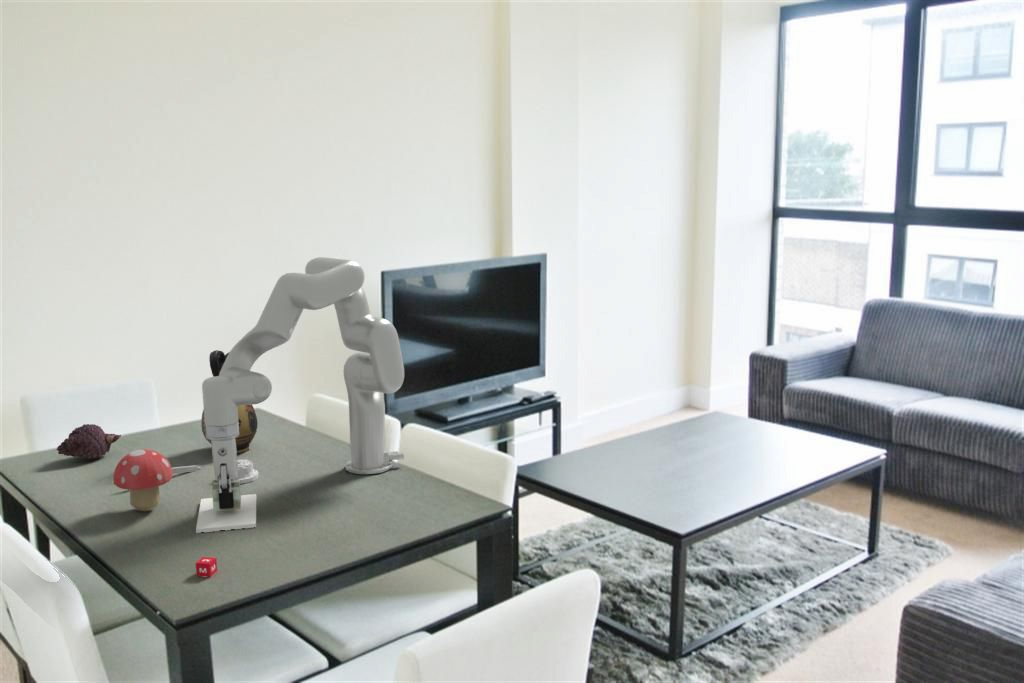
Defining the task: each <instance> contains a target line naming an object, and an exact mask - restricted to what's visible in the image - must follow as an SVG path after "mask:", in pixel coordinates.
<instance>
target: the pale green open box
mask: <svg viewBox="0 0 1024 683" xmlns="http://www.w3.org/2000/svg"><path fill="white" fill-rule="evenodd" d="M227 484H229V482H227ZM231 487H232V491H233V499H234V508H229V509H220V507H219V481H216V482H213V484H212V489H211V493H212V494H211V495H212V497H211V498H213V510H214V511H224V510H234V509H240V507H241V495H242V494H241V484H240V480H237V481H231Z"/></svg>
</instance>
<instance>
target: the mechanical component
mask: <svg viewBox="0 0 1024 683" xmlns="http://www.w3.org/2000/svg"><path fill="white" fill-rule="evenodd" d="M237 464H238V476H237V479H236V480H234V479H233V481H237V480H240V485H242V484H243V483H244V484H249V483H251V481H252V482H254V481H256V480H257V479H258V478H259V471H258V470H257V469H254V463H253V461H252V460H249V459H245V458H244V459H237Z"/></svg>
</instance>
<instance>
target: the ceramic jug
mask: <svg viewBox="0 0 1024 683" xmlns="http://www.w3.org/2000/svg"><path fill="white" fill-rule="evenodd" d="M228 354H229V352H227V353H226V354H225V352H224V351H223V350H220V349H219V350H213V351H212V352H210V354H209V358H208V359H209V367H210V370H211V375H212V377H215V376H219V374H220V371H221V369H222V366H223V364H224V362H225V360H226V358H227V356H228ZM238 422H239V436H237V437H235V440H236V450H237V454H238V453H245V452H247V451H249V450H250V449H249V447H250V444H251V443H252V441H253V439H255V436H256V434H257V430H258V423H259V422H258V416H257V414H256V411H255V408H254V405H239V406H238ZM200 427H201V431H202V434H203V436H204V438H205V440H206V441H207V442H208V443H209V444H210V445H212V443H211V440H210V439H207V438H206V434H205V420H204V408H203V409H202V414H201V425H200ZM248 449H249V450H248Z"/></svg>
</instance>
